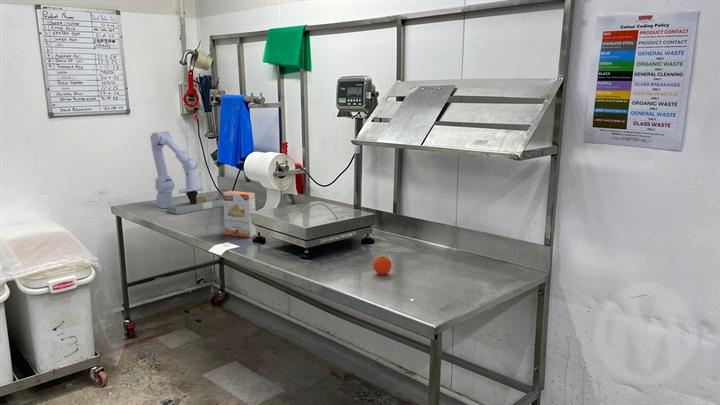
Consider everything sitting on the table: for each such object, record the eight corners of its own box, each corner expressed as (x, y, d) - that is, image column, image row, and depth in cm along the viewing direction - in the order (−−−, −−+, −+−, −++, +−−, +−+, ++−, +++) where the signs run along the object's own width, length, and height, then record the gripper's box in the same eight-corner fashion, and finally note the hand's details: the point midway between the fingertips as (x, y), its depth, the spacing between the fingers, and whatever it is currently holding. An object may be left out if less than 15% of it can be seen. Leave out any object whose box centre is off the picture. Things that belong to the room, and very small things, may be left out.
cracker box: (224, 235, 248) (222, 192, 244) (231, 232, 254) (229, 190, 250) (250, 238, 244) (248, 194, 239) (256, 235, 249) (255, 192, 245)
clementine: (372, 270, 201) (372, 252, 199) (390, 270, 201) (390, 252, 200) (373, 277, 193) (374, 259, 191) (392, 277, 193) (392, 258, 192)
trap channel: (166, 211, 296) (166, 205, 296) (215, 203, 320) (215, 197, 319) (177, 215, 289) (177, 208, 288) (226, 206, 312) (226, 199, 312)
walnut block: (192, 204, 304) (192, 198, 303) (201, 203, 309) (201, 196, 308) (197, 206, 301) (196, 199, 300) (206, 204, 305) (206, 197, 305)
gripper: (183, 183, 291) (184, 207, 293) (206, 180, 301) (207, 203, 304) (176, 181, 295) (178, 205, 298) (199, 178, 306) (200, 201, 309)
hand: (192, 204), depth 301 cm, fingers closed
